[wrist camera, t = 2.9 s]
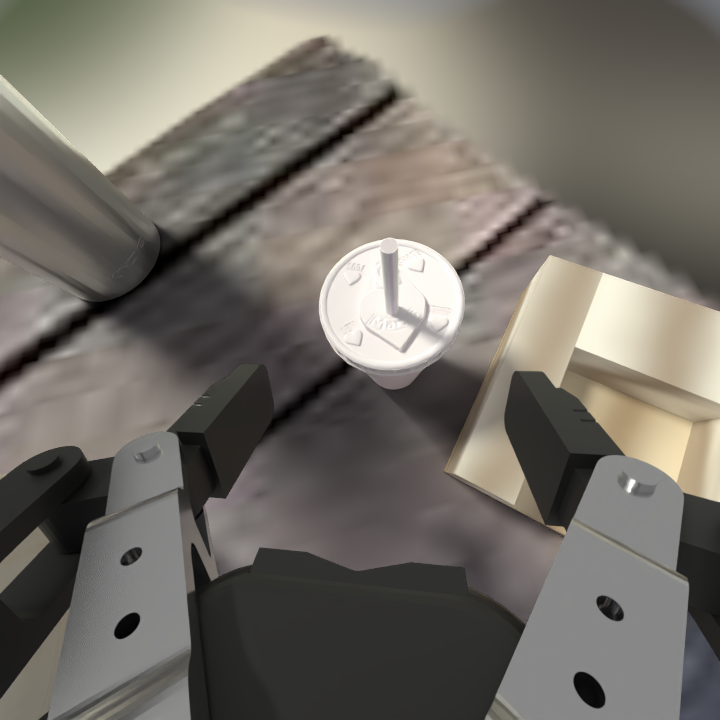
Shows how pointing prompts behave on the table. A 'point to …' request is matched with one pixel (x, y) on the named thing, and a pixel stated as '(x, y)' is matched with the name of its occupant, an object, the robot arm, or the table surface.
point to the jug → (36, 681)
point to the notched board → (604, 380)
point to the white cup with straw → (392, 309)
